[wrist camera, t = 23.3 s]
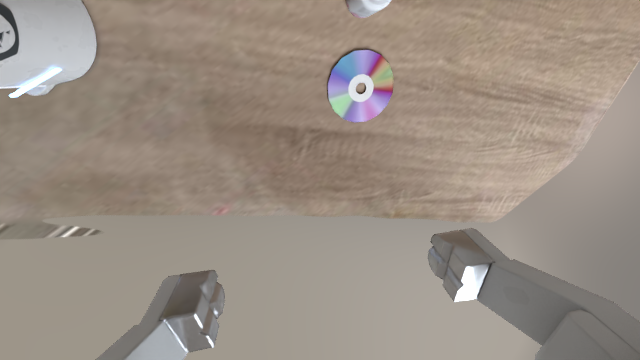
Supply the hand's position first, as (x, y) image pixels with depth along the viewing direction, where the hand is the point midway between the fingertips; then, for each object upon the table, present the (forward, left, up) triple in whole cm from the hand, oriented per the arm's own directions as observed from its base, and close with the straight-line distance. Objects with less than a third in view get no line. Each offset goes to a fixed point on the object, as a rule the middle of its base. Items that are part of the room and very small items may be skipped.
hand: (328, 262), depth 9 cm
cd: (+9, +6, -33) cm, 35 cm away
